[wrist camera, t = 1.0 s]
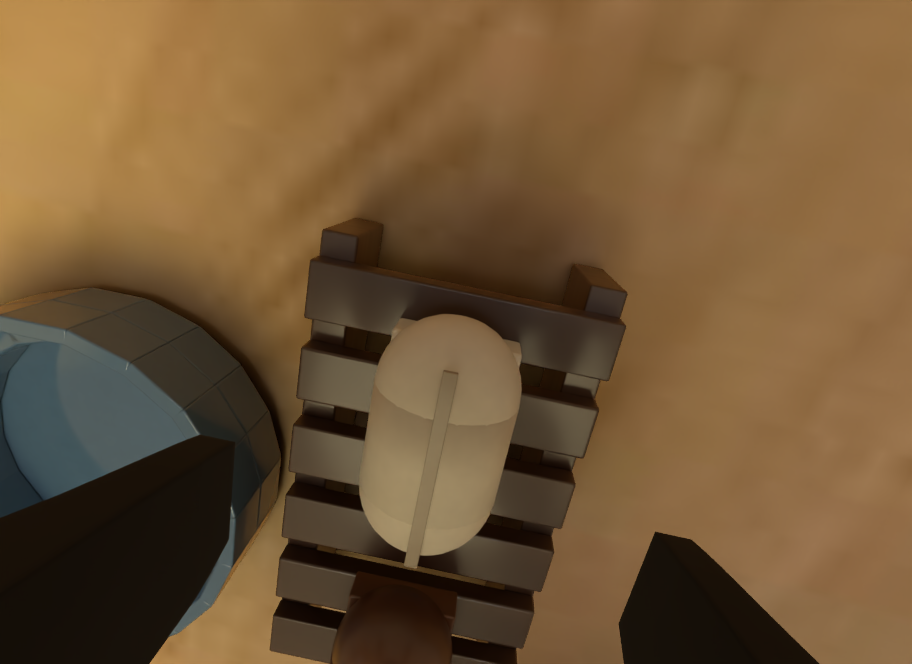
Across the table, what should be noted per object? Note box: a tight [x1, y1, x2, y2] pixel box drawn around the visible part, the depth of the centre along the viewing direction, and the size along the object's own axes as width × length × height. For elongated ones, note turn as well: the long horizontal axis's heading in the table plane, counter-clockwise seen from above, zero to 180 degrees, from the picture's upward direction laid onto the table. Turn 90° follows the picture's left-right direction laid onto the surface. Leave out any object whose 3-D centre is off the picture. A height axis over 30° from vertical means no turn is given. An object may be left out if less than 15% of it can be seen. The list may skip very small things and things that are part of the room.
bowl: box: [0, 287, 281, 636], centre depth 18 cm, size 12×12×4 cm
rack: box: [270, 218, 627, 664], centre depth 17 cm, size 15×8×4 cm, turn 169°
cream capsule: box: [359, 314, 522, 569], centre depth 12 cm, size 6×3×3 cm, turn 169°
